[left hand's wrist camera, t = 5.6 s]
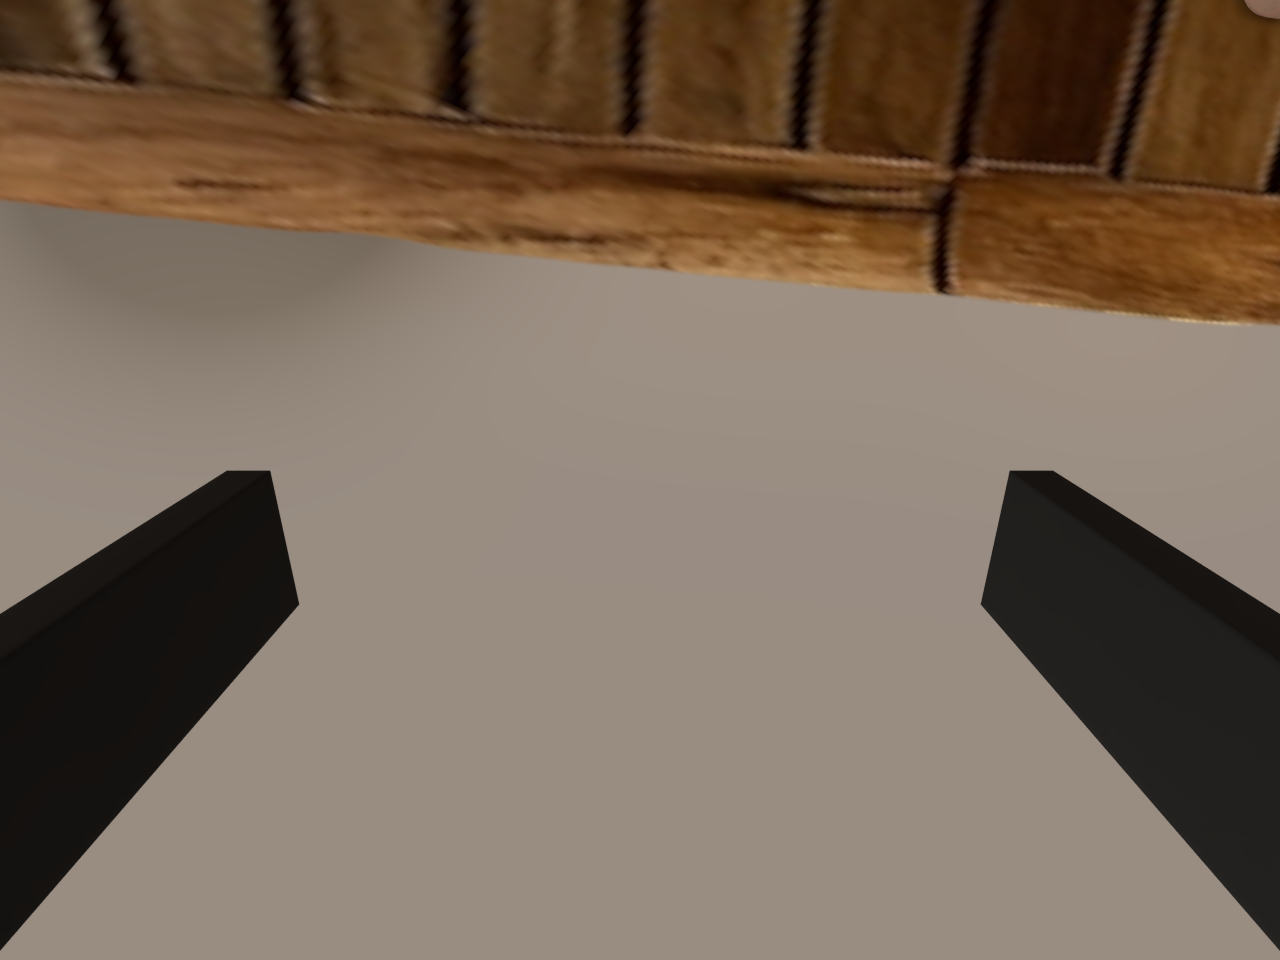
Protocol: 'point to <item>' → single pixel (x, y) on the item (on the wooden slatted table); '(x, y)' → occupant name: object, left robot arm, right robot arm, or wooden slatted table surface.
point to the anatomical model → (1265, 7)
